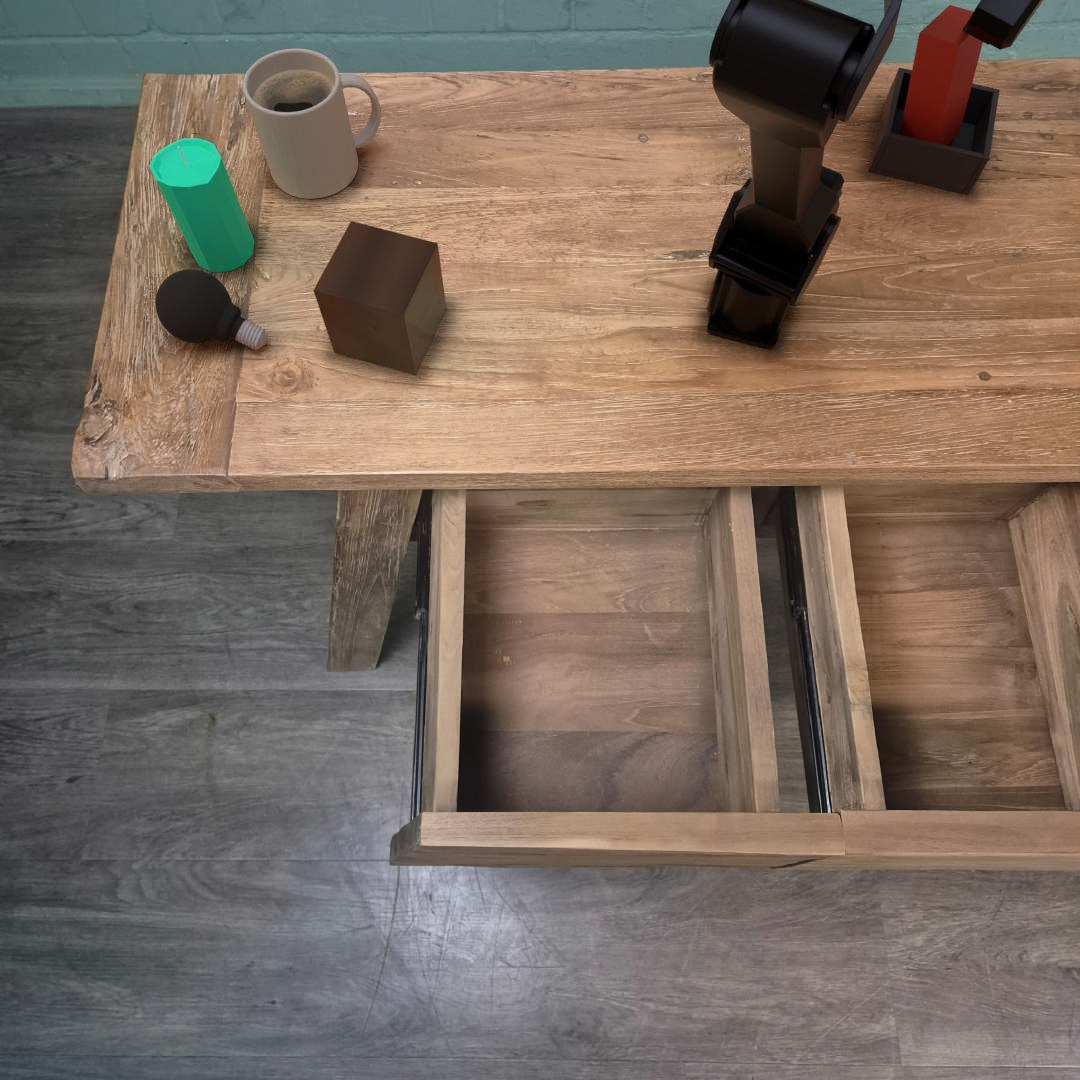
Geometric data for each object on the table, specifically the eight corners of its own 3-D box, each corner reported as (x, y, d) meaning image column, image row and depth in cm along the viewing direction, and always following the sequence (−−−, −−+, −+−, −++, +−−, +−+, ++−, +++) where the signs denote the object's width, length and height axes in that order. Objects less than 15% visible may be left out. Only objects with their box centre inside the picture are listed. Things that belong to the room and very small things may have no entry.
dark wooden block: (446, 308, 83) (438, 243, 75) (415, 375, 80) (403, 314, 72) (367, 286, 84) (350, 220, 76) (333, 352, 81) (313, 290, 73)
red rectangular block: (932, 160, 90) (959, 44, 80) (896, 147, 92) (918, 32, 81) (959, 132, 91) (990, 15, 81) (924, 120, 93) (949, 4, 83)
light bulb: (257, 343, 76) (143, 286, 74) (246, 387, 81) (139, 335, 79) (287, 297, 80) (180, 241, 78) (275, 342, 85) (173, 291, 83)
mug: (258, 190, 89) (227, 104, 80) (291, 125, 93) (265, 35, 84) (361, 210, 88) (341, 126, 79) (390, 143, 92) (375, 55, 83)
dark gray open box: (979, 126, 94) (1000, 89, 89) (968, 195, 90) (989, 159, 85) (883, 104, 95) (899, 67, 91) (867, 171, 91) (883, 135, 87)
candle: (196, 278, 84) (146, 179, 73) (189, 231, 87) (139, 129, 76) (259, 265, 85) (218, 165, 74) (250, 219, 87) (210, 116, 76)
